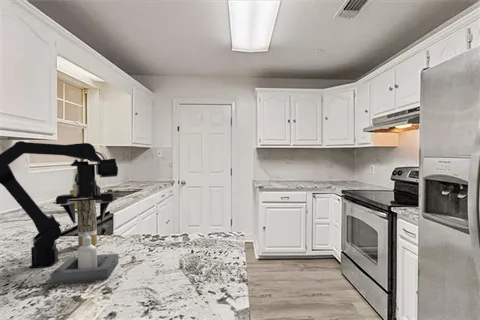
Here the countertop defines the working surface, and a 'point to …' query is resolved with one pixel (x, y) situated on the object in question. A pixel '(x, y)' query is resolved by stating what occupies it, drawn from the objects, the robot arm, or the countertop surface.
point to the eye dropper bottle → (87, 253)
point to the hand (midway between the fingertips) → (88, 222)
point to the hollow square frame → (85, 270)
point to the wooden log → (86, 220)
